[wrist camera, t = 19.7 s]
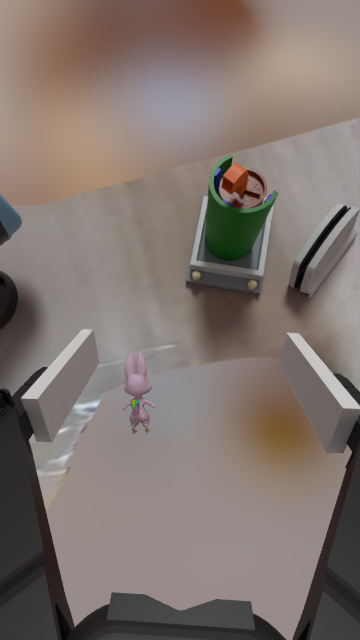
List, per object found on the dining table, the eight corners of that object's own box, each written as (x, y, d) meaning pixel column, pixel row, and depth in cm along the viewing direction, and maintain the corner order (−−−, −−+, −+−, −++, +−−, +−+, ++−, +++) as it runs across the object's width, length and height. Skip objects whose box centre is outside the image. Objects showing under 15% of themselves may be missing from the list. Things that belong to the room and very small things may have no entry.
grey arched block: (309, 300, 48) (317, 272, 39) (287, 289, 50) (290, 261, 41) (356, 237, 49) (374, 197, 41) (332, 229, 52) (344, 190, 43)
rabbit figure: (159, 426, 47) (152, 349, 47) (154, 441, 41) (147, 353, 41) (127, 428, 47) (121, 352, 47) (118, 443, 41) (111, 356, 41)
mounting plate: (186, 282, 50) (185, 276, 46) (203, 197, 53) (203, 185, 50) (258, 294, 49) (263, 289, 45) (272, 206, 52) (277, 194, 48)
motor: (260, 235, 49) (302, 150, 30) (237, 270, 48) (265, 206, 29) (218, 212, 51) (231, 118, 31) (195, 245, 50) (194, 170, 30)
